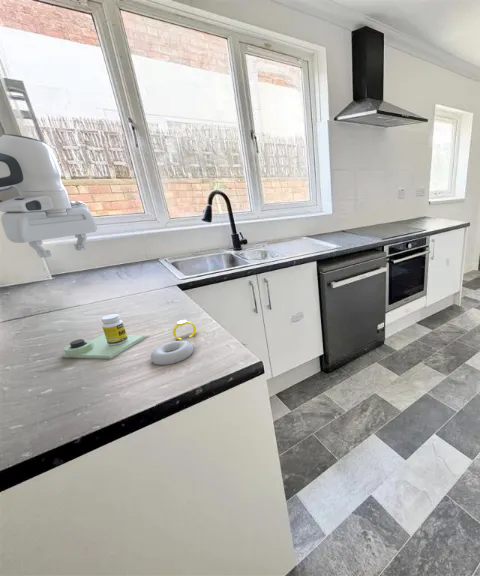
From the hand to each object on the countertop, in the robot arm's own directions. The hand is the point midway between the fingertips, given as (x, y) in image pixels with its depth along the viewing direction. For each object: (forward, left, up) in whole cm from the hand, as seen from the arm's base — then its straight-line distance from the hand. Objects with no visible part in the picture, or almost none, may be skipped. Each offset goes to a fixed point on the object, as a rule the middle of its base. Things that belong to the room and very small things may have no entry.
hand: (64, 253), depth 87 cm
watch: (+27, +3, -29) cm, 40 cm away
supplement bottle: (+10, -2, -27) cm, 29 cm away
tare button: (+3, -7, -26) cm, 27 cm away
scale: (+7, -4, -28) cm, 29 cm away
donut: (+31, -8, -28) cm, 43 cm away
